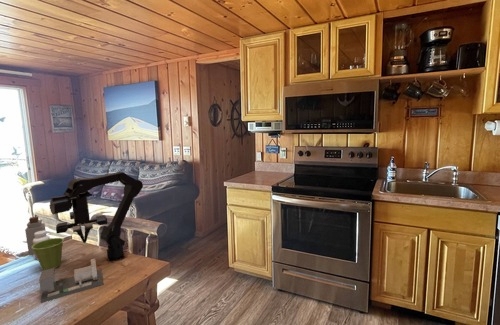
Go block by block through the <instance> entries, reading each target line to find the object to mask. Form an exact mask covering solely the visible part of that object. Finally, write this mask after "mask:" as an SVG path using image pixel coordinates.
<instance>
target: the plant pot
mask: <svg viewBox="0 0 500 325" xmlns="http://www.w3.org/2000/svg"><path fill="white" fill-rule="evenodd" d="M64 240H65V239H64V238H62V237H55V238H50V239H48V240H44V241H41V242H38V243H36V244H34V245H33V246H32V249H34V251H35V253H36V255H37V257H38V260H37V261H38V262H39V265H40V268H41V269H42V270H41V271H44V270H48V269H52V268H54V270H55V269H56V268H57V267H60V266H62V259H63V258H62V257H63V255H62V254H63V253H62V252H63V244H64Z"/></svg>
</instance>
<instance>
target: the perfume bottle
mask: <svg viewBox="0 0 500 325" xmlns="http://www.w3.org/2000/svg"><path fill="white" fill-rule="evenodd" d="M28 220H29V221H28V222H27V223H26V226H27V227H26V228H25V230H24V231H25V237H26V243H27V250H28V251H27V252H28V256H29V257H30V256H31V257H32V256H35V253H34V249H32V246H33V239H34V238H35V236H34V233H36V232H39V231H46V225H45V223H44V222H42V221H43V219H39V216H31V217H30V218H29V219H28ZM46 232H47V231H46Z"/></svg>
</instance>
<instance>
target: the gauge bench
mask: <svg viewBox="0 0 500 325" xmlns="http://www.w3.org/2000/svg"><path fill="white" fill-rule="evenodd" d="M96 270H97V278H98V279H96V280H93V279H90V280H86V281H83V282H81V285H80V284H79V283H76V284H75V277H74V275H73V276H70V277H67V278H66V277H65V278H63V279H59V280H56V278H57V277H56V272H55V269H54V268H52V269H48V270H41V272H40V276H39V278H38V279H39V280H38V281H39V282H38V283H39V288H40V294H41V295H40V303H41V304H43V303H45V302H48V301H51V300H56V299H60V298H62V297H66V296H69V295H72V294H73V295H74V294H76V293H80V292H84V291H86V290H90V289H94V288H98V287H101V286H103V285H104V278H103V271H102V269H101V268H99V269H96ZM59 283H62V284H63V291H62V292H60V291H59Z"/></svg>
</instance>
